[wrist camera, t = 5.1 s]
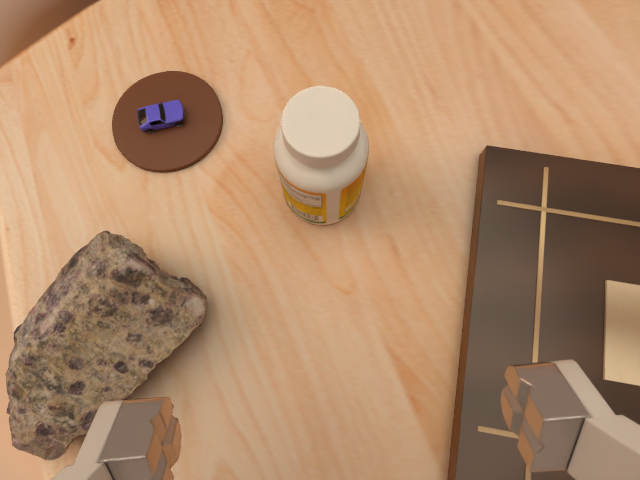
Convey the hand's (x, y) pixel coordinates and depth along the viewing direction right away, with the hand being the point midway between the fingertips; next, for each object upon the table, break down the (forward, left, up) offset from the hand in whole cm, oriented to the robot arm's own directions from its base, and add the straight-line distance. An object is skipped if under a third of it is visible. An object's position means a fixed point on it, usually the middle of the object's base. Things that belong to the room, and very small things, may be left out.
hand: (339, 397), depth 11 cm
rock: (-2, +9, -17) cm, 19 cm away
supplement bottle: (+12, +3, -18) cm, 22 cm away
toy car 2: (+15, +15, -18) cm, 28 cm away
